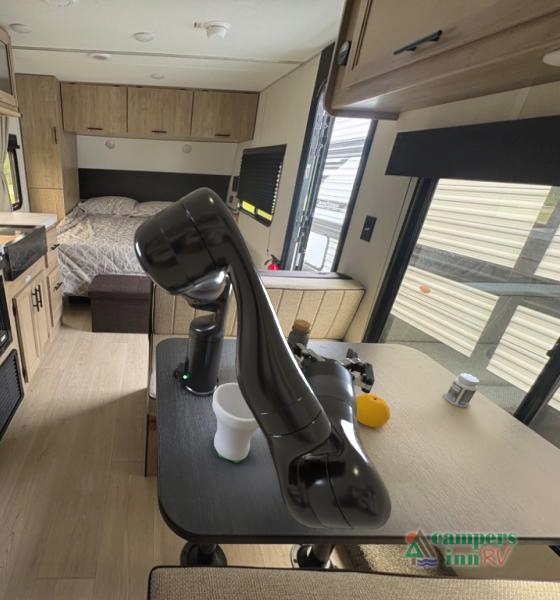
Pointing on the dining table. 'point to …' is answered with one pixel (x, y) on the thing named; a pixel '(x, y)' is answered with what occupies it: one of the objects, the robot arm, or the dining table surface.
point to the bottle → (299, 332)
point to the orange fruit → (372, 410)
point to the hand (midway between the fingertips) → (325, 345)
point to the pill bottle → (462, 390)
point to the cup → (232, 423)
